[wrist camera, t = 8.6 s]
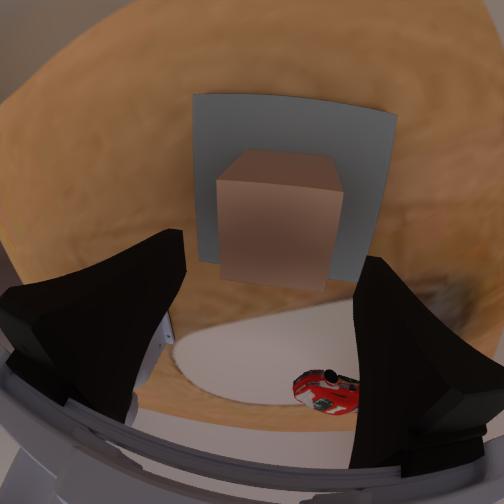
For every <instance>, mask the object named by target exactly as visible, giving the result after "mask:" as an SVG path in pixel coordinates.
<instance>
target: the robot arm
mask: <svg viewBox="0 0 504 504" xmlns="http://www.w3.org/2000/svg"><path fill="white" fill-rule="evenodd" d="M186 272H187V270H186V261H185V252H184V242H183V231H182V230H177V229H166V230H164V231H161V232H159V233H157V234H155V235H153V236H151V237H149V238H147V239H146V240H144V241H142V242H140V243H138V244H136V245H134V246H132V247H130V248H129V249H127V250H125V251H122V252H120V253H118V254H116V255H114V256H112V257H110V258H109V259H106V260H104V261H102V262H100V263H97V264H95V265H92V266H90V267H88V268H85V269H82V270H80V271H76V272H73V273H70V274H67V275H65V276H61V277H58V278H54V279H51V280H46V281H42V282H38V283H33V284H27V285H21V286H13V287H10V288H8V289H7V290H6V291H5V292H4V293H3V294H2V295H1V297H0V328H1V330H2V331H3V333H4V334H5V336H6V337H7V339H8V340H9V342H10V343H11V344H12V346H13V347H14V349H15V350H14V351H13V352H12V354H10V352H8V350H7V349H6V348H4V347H3V346H2V345H1V344H0V426H1V427H2V428H3V429H4V431H5V432H6V433H7V434H8V435H9V436H10V437H11V438H12V439H13V440H14V441H15V442H16V443H17V444H18V445H19V446H20V449H19V451H18V453H17V455H16V457H15V458H14V461H13V462H12V464H11V466H10V468H9V470H8V473H7V475H6V477H5V479H4V481H3V483H2V486H1V488H0V504H278V503H271V502H264V501H257V500H251V499H246V498H240V497H235V496H230V495H226V494H221V493H217V492H213V491H209V490H205V489H201V488H197V487H194V486H190V485H187V484H184V483H180V482H177V481H174V480H171V479H168V478H165V477H162V476H159V475H156V474H153V473H151V472H148V471H145V470H143V467H142V466H141V465H140V464H138V463H137V462H135V461H133V460H131V459H130V458H128V457H127V456H125V455H124V454H123V453H122V452H121V451H120V450H119V449H118V448H116V447H114V446H115V445H117V446H120V447H122V448H124V449H126V450H129V451H131V452H133V453H136V454H138V455H141V456H143V457H146V458H148V459H151V460H154V461H156V462H159V463H162V464H165V465H168V466H171V467H174V468H177V469H180V470H183V471H187V472H190V473H194V474H197V475H201V476H205V477H209V478H213V479H217V480H222V481H226V482H231V483H236V484H242V485H248V486H254V487H260V488H268V489H277V490H287V491H301V492H342V493H331V494H316V495H315V496H313V499H309V500H303V501H301V502H300V503H299V504H496V503H498V502H500V501H502V500H503V499H504V435H503V436H500V437H497V438H494V439H492V440H489V441H487V442H485V443H483V439H482V436H484V435H485V434H486V433H487V428H486V423H488V422H489V421H490V420H492V419H493V418H494V417H495V416H497V415H498V414H499V413H500V412H501V411H503V410H504V367H503V366H502V365H500V364H498V363H496V362H495V361H493V360H491V359H490V358H488V357H486V356H485V355H483V354H482V353H480V352H479V351H477V350H476V349H474V348H473V347H472V346H470V345H469V344H468V343H466V342H465V341H464V340H462V339H461V338H460V337H459V336H457V335H456V334H455V333H454V332H452V331H451V330H450V329H449V328H448V327H447V326H445V325H444V324H443V323H442V322H441V321H440V320H439V319H438V318H437V317H436V316H435V315H434V314H433V313H432V312H430V311H429V310H428V309H427V307H426V306H425V305H424V304H423V303H422V302H421V301H420V300H419V299H418V298H417V297H416V296H415V295H414V294H413V292H412V291H411V290H410V289H409V288H408V287H407V286H406V285H405V283H404V282H403V281H402V280H401V279H400V278H399V277H398V275H397V274H396V273H395V272H394V271H393V270H392V268H391V267H390V266H389V265H388V264H387V263H386V262H385V261H384V260H383V259H382V258H381V257H374V256H367V255H366V258H365V262H364V265H363V268H362V271H361V274H360V277H359V280H358V283H357V286H356V289H355V292H354V295H353V320H354V327H355V335H356V343H357V351H358V360H359V372H360V381H359V403H358V415H357V424H356V431H355V438H354V445H353V450H352V455H351V460H350V464H349V468H348V469H316V468H300V467H288V466H279V465H271V464H264V463H256V462H251V461H245V460H240V459H234V458H229V457H225V456H220V455H216V454H211V453H208V452H204V451H200V450H196V449H193V448H189V447H185V446H182V445H178V444H175V443H172V442H169V441H166V440H163V439H160V438H157V437H155V436H152V435H149V434H147V433H144V432H141V431H139V430H136V429H134V428H131V426H132V424H133V422H134V420H135V418H136V415H137V411H138V398H137V394H136V393H135V392H133V390H134V389H137V388H139V387H140V386H142V385H143V384H144V383H145V382H146V381H147V380H148V378H149V376H150V374H151V372H152V370H153V368H154V366H155V364H156V362H157V360H158V358H159V356H160V354H161V352H162V350H163V348H164V346H165V344H166V343H169V344H174V342H175V340H174V336H173V332H172V327H171V323H170V319H169V314H168V309H169V307H170V305H171V304H172V302H173V300H174V298H175V297H176V295H177V293H178V291H179V289H180V287H181V284H182V282H183V280H184V277H185V274H186Z"/></svg>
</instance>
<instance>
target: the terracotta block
mask: <svg viewBox="0 0 504 504" xmlns="http://www.w3.org/2000/svg"><path fill="white" fill-rule="evenodd" d="M216 184H217V212H218V235H219V254H220V272H221V279H224V280H231V281H238V282H245V283H252V284H260V285H267V286H275V287H283V288H291V289H299V290H308V291H316V292H324V291H325V287H326V282H327V278H328V273H329V269H330V264H331V260H332V255H333V250H334V245H335V240H336V235H337V230H338V224H339V219H340V213H341V207H342V201H343V195H344V191H343V188H342V185H341V182H340V179H339V176H338V173H337V170H336V167H335V164H334V162H333V159H332V157H328V156H321V155H312V154H303V153H293V152H282V151H270V150H255V149H246V150H245V151H244V152H243V153H242V154H241V155H240V156H239V157H238V158H237V159H236V160H235V161H234V162H233V163H232V164H231V165H230V166H229V167H228V168H227V169H226V170H225V171H224V172H223V173H222V175H221V176H220V177H219V178H218V179H217V180H216Z"/></svg>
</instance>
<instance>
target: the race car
mask: <svg viewBox="0 0 504 504" xmlns="http://www.w3.org/2000/svg"><path fill="white" fill-rule="evenodd" d="M293 392H294V397H295V398H296V399H297V400H298V401H300V402H302V403H304V404H306V405H307V406H309V407H311V408H313V409H315V410H318V411H320V412H323V413H326V414H330V415H342V414H346V413H358V403H359V381H358V380H354V379H351V378H348V377H345V376H342V375H338V376H337V374H336V373H335V371H333V370H331V369H328V370H326V371H325V372H324V370H310V371H307V372H305V373H303V374H302V375H301V376H299V377H298V378H297V379H296V380H294V382H293Z"/></svg>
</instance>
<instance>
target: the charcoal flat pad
mask: <svg viewBox="0 0 504 504" xmlns="http://www.w3.org/2000/svg"><path fill="white" fill-rule="evenodd" d="M396 122H397V115H395V114H392V113H388V112H384V111H380V110H375V109H371V108H366V107H361V106H356V105H350V104H345V103H339V102H332V101H326V100H318V99H311V98H302V97H292V96H280V95H265V94H233V93H220V94H194V95H193V158H194V185H195V205H196V222H197V237H198V250H199V261H203V262H210V263H217V264H220V254H219V235H218V212H217V184H216V180H217V179H218V178H219V177H220V176H221V175H222V173H223V172H224V171H225V170H226V169H227V168H228V167H229V166H230V165H231V164H232V163H233V162H234V161H235V160H236V159H237V158H238V157H239V156H240V155H241V154H242V153H243V152H244V151H245V150H246V149H255V150H270V151H282V152H293V153H303V154H312V155H321V156H328V157H332V159H333V162H334V164H335V167H336V170H337V173H338V176H339V179H340V182H341V185H342V188H343V191H344V195H343V201H342V207H341V213H340V219H339V224H338V230H337V235H336V240H335V245H334V250H333V255H332V260H331V264H330V269H329V273H328V278H327V279H332V280H340V281H348V282H356V283H358V280H359V277H360V274H361V271H362V268H363V265H364V262H365V258H366V255H368V251H369V248H370V245H371V241H372V237H373V234H374V230H375V226H376V222H377V218H378V215H379V210H380V206H381V202H382V198H383V193H384V189H385V184H386V180H387V175H388V170H389V164H390V159H391V154H392V148H393V142H394V135H395V129H396Z"/></svg>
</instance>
